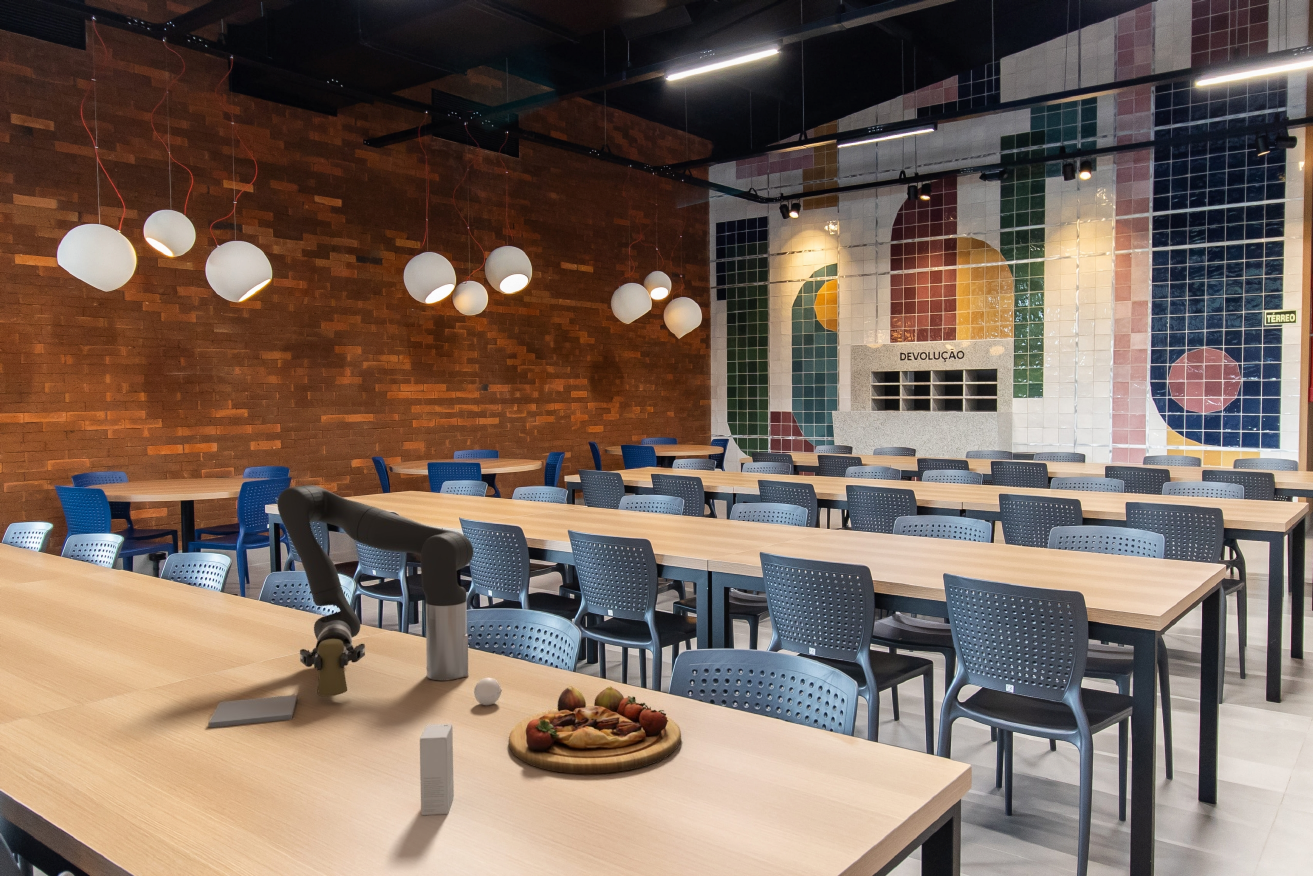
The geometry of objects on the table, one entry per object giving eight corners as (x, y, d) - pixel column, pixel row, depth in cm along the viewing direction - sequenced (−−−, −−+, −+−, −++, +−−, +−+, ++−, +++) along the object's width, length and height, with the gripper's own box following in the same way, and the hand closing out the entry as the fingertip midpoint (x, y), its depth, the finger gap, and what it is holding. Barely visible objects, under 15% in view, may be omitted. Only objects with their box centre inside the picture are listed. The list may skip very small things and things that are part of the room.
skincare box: (426, 798, 140) (425, 724, 139) (454, 797, 140) (453, 723, 140) (419, 816, 134) (418, 738, 133) (448, 815, 134) (447, 737, 134)
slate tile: (297, 699, 189) (297, 694, 189) (291, 719, 176) (291, 714, 176) (219, 706, 184) (219, 702, 184) (208, 727, 172) (208, 722, 172)
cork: (337, 696, 183) (335, 644, 182) (311, 695, 184) (309, 643, 184) (352, 687, 189) (351, 636, 188) (327, 686, 190) (326, 635, 190)
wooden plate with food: (544, 793, 143) (543, 742, 142) (487, 730, 171) (486, 688, 171) (713, 756, 157) (713, 711, 157) (634, 704, 186) (634, 665, 185)
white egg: (495, 710, 182) (495, 683, 181) (469, 708, 183) (469, 681, 183) (509, 698, 189) (508, 672, 189) (484, 696, 190) (484, 670, 190)
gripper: (300, 630, 197) (293, 650, 181) (366, 624, 202) (366, 643, 186) (301, 663, 198) (294, 686, 181) (367, 657, 202) (367, 678, 186)
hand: (330, 664), depth 184 cm, fingers closed on cork, 4 cm apart
